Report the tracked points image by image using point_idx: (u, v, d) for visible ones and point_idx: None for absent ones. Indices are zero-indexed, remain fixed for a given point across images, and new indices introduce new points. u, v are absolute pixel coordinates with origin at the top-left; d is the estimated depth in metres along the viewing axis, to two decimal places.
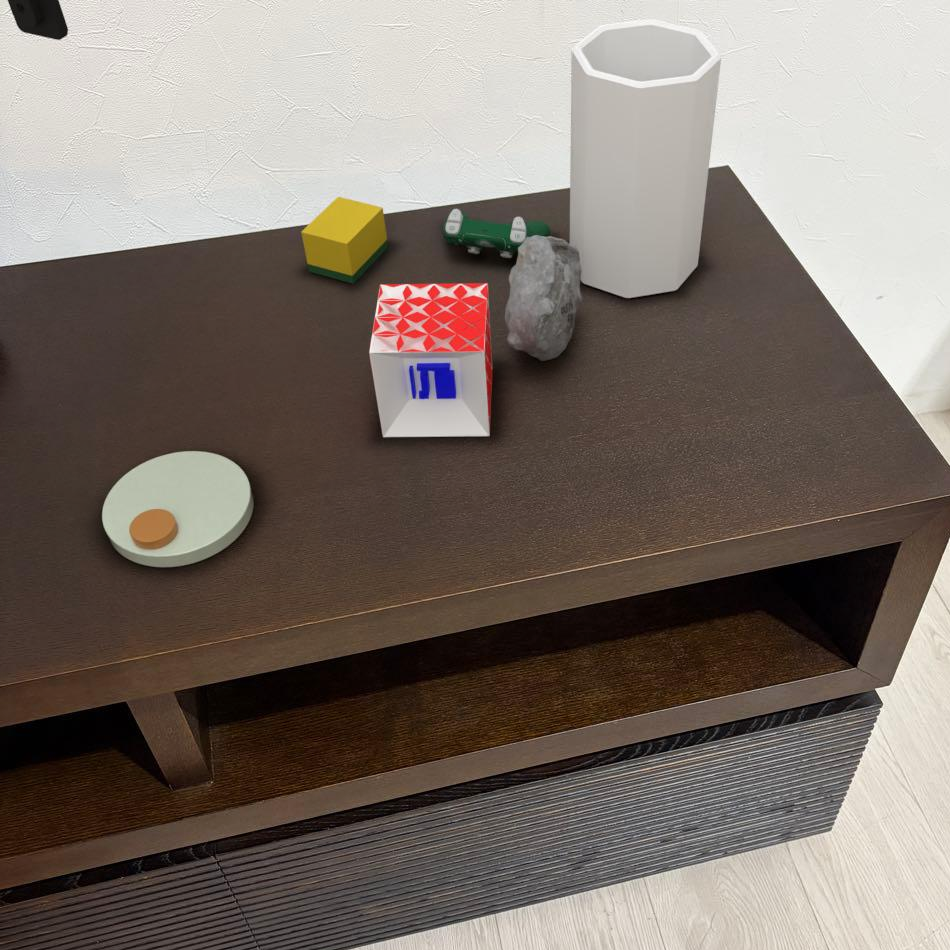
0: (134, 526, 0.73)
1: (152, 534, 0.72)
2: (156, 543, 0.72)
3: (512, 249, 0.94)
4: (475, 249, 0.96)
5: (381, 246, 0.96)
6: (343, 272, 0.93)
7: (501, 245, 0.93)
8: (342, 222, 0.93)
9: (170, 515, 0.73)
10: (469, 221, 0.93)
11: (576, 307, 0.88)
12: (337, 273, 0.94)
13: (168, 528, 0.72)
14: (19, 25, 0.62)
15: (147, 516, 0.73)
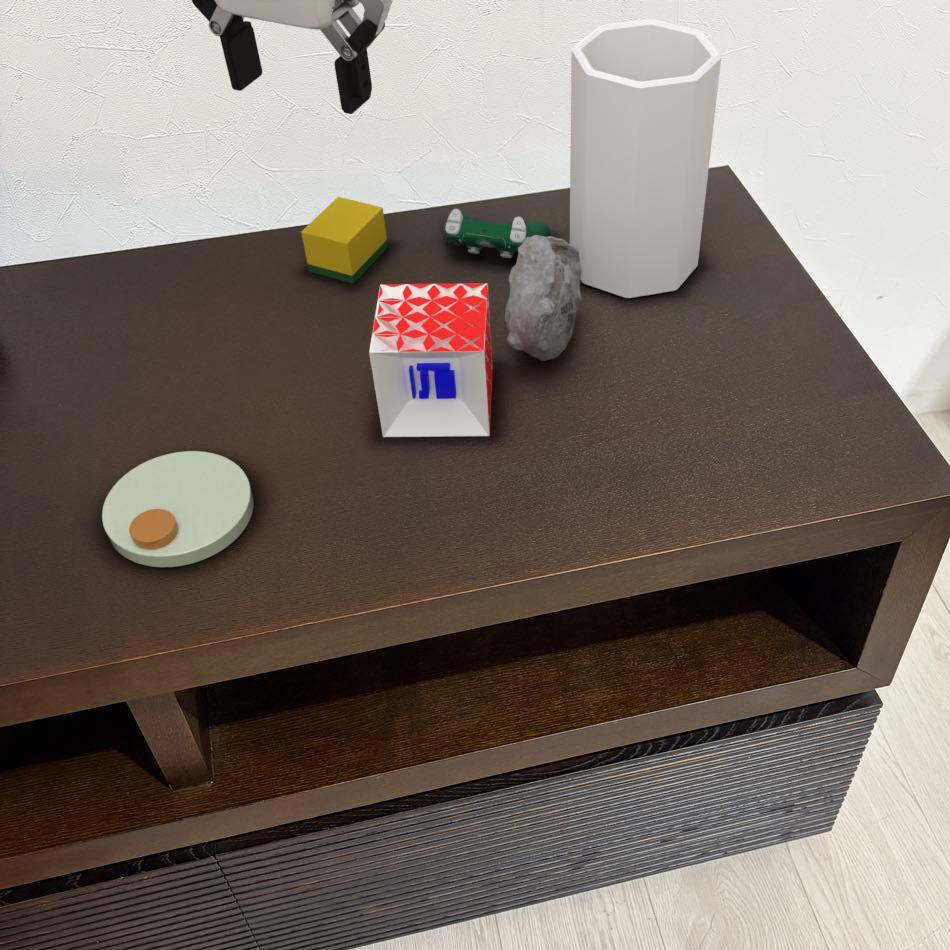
0: (134, 526, 0.73)
1: (152, 534, 0.72)
2: (156, 543, 0.72)
3: (512, 249, 0.94)
4: (475, 249, 0.96)
5: (381, 246, 0.96)
6: (343, 272, 0.93)
7: (501, 245, 0.93)
8: (342, 222, 0.93)
9: (170, 515, 0.73)
10: (469, 221, 0.93)
11: (576, 307, 0.88)
12: (337, 273, 0.94)
13: (168, 528, 0.72)
14: None
15: (147, 516, 0.73)
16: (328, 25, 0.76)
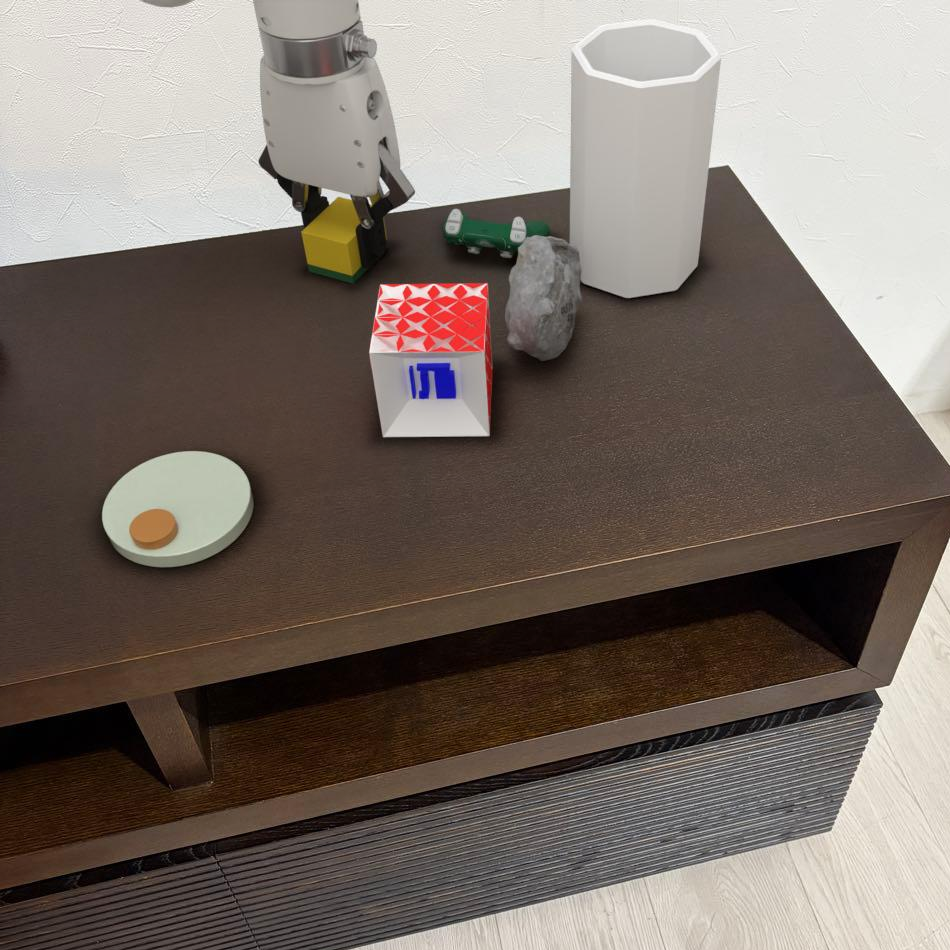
0: (134, 526, 0.73)
1: (152, 534, 0.72)
2: (156, 543, 0.72)
3: (512, 249, 0.94)
4: (475, 249, 0.96)
5: None
6: (343, 272, 0.93)
7: (501, 245, 0.93)
8: (342, 222, 0.93)
9: (170, 515, 0.73)
10: (469, 221, 0.93)
11: (576, 307, 0.88)
12: (337, 273, 0.94)
13: (168, 528, 0.72)
14: None
15: (147, 516, 0.73)
16: (373, 195, 0.88)
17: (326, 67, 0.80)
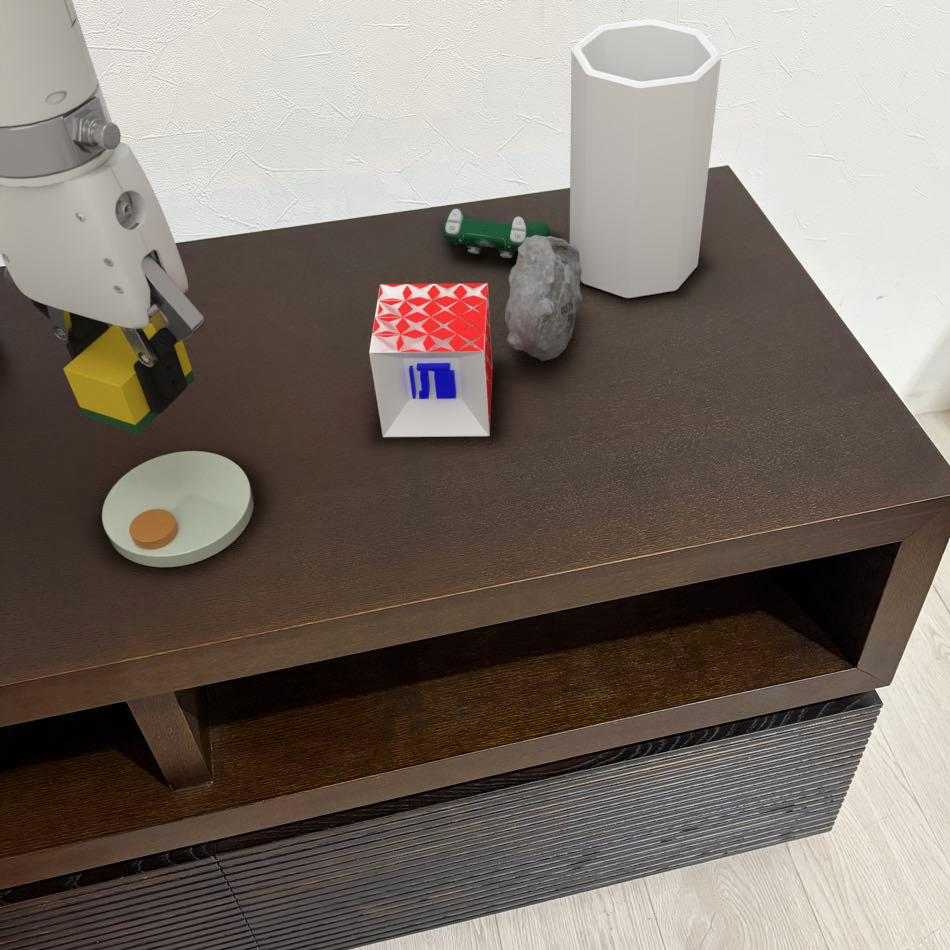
0: (134, 526, 0.73)
1: (152, 534, 0.72)
2: (156, 543, 0.72)
3: (512, 249, 0.94)
4: (475, 249, 0.96)
5: None
6: (124, 420, 0.70)
7: (501, 245, 0.93)
8: (121, 354, 0.69)
9: (170, 515, 0.73)
10: (469, 221, 0.93)
11: (576, 307, 0.88)
12: (117, 420, 0.70)
13: (168, 528, 0.72)
14: None
15: (147, 516, 0.73)
16: (145, 326, 0.64)
17: (45, 163, 0.56)
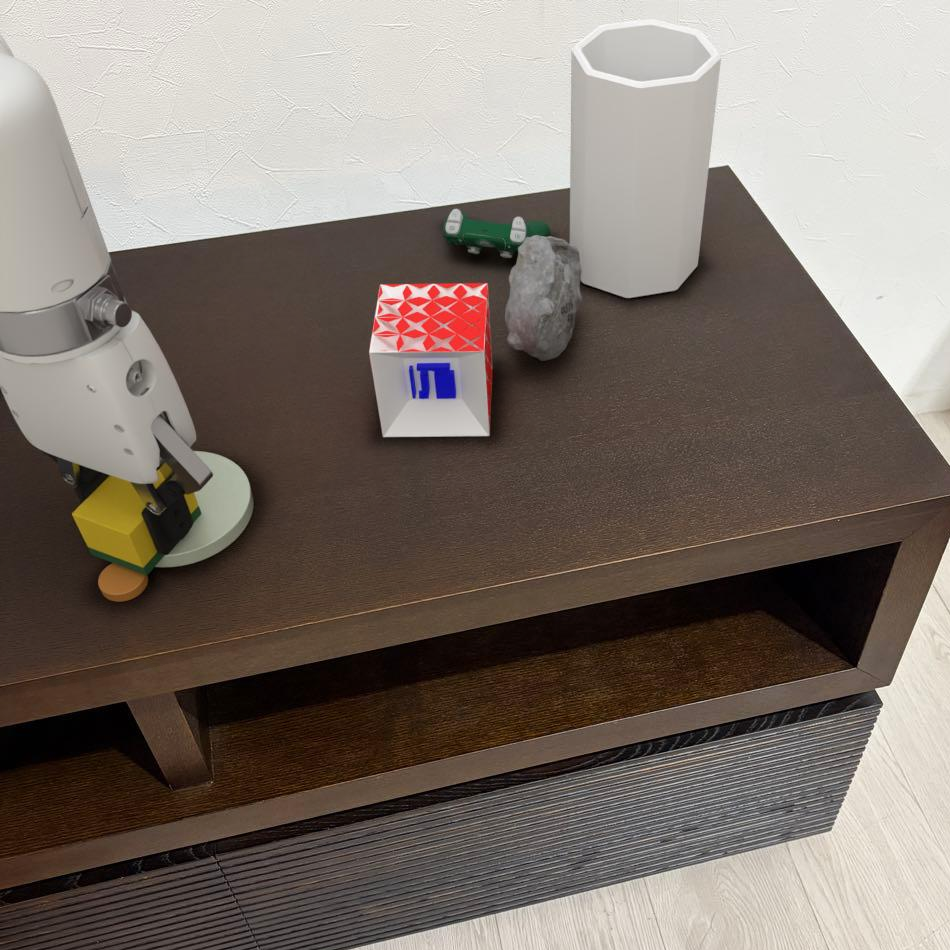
0: (103, 578, 0.71)
1: (122, 586, 0.71)
2: (125, 596, 0.71)
3: (512, 249, 0.94)
4: (475, 249, 0.96)
5: None
6: (131, 562, 0.70)
7: (501, 245, 0.93)
8: (129, 497, 0.70)
9: None
10: (469, 221, 0.93)
11: (576, 307, 0.88)
12: (125, 562, 0.71)
13: (138, 580, 0.71)
14: None
15: (117, 568, 0.72)
16: (154, 482, 0.65)
17: (57, 343, 0.57)
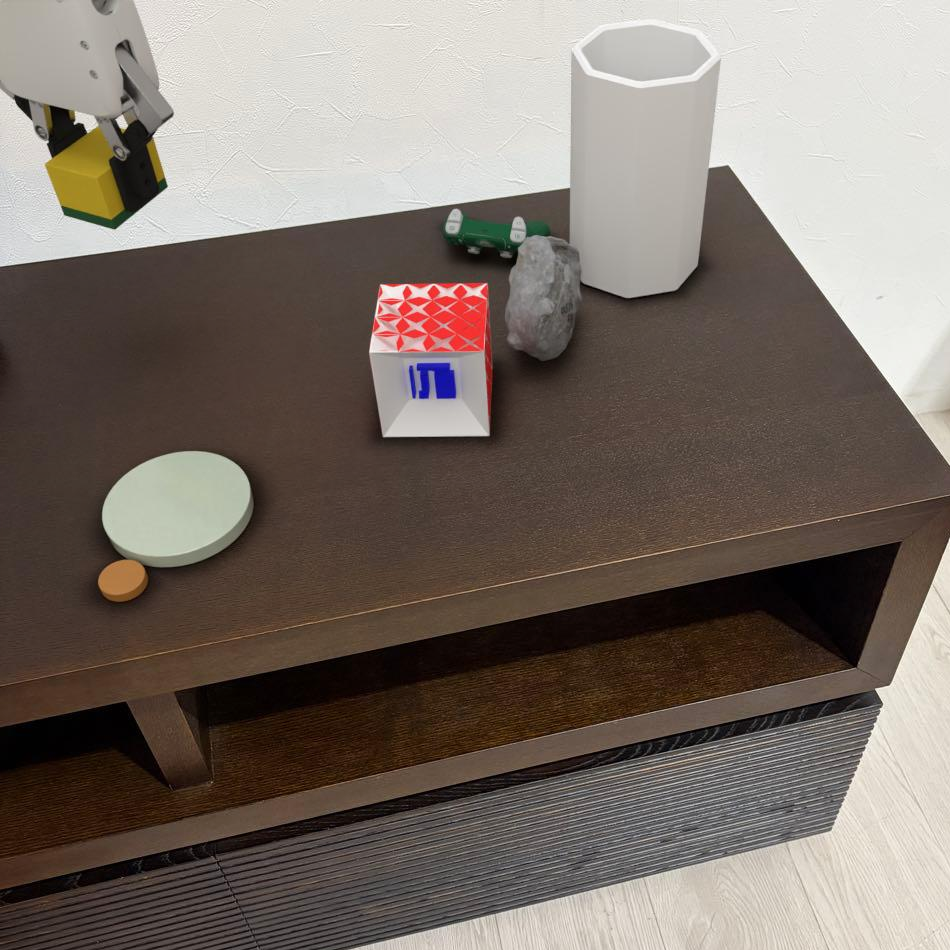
0: (103, 578, 0.71)
1: (122, 586, 0.71)
2: (125, 596, 0.71)
3: (512, 249, 0.94)
4: (475, 249, 0.96)
5: None
6: (100, 215, 0.76)
7: (501, 245, 0.93)
8: (98, 153, 0.75)
9: (140, 566, 0.72)
10: (469, 221, 0.93)
11: (576, 307, 0.88)
12: (94, 216, 0.76)
13: (138, 580, 0.71)
14: None
15: (117, 568, 0.72)
16: (118, 115, 0.70)
17: None
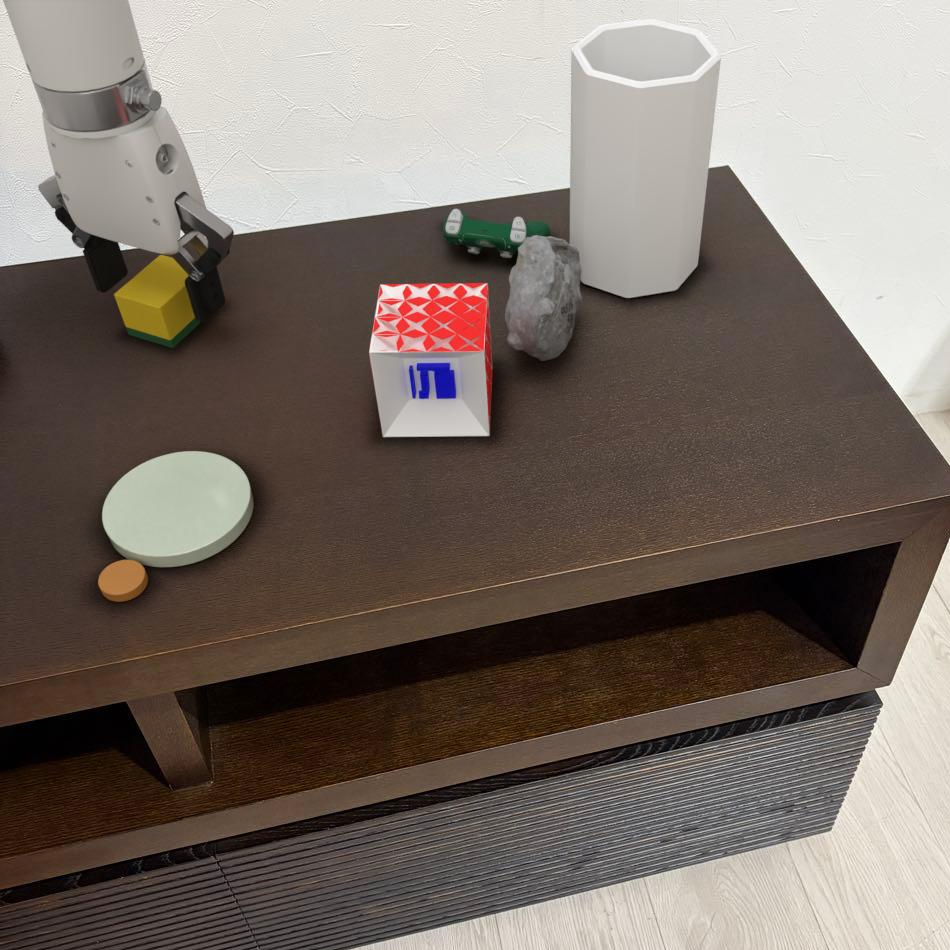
0: (103, 578, 0.71)
1: (122, 586, 0.71)
2: (125, 596, 0.71)
3: (512, 249, 0.94)
4: (475, 249, 0.96)
5: None
6: (161, 336, 0.88)
7: (501, 245, 0.93)
8: (159, 283, 0.87)
9: (140, 566, 0.72)
10: (469, 221, 0.93)
11: (576, 307, 0.88)
12: (155, 337, 0.88)
13: (138, 580, 0.71)
14: None
15: (117, 568, 0.72)
16: (175, 252, 0.82)
17: (104, 121, 0.74)
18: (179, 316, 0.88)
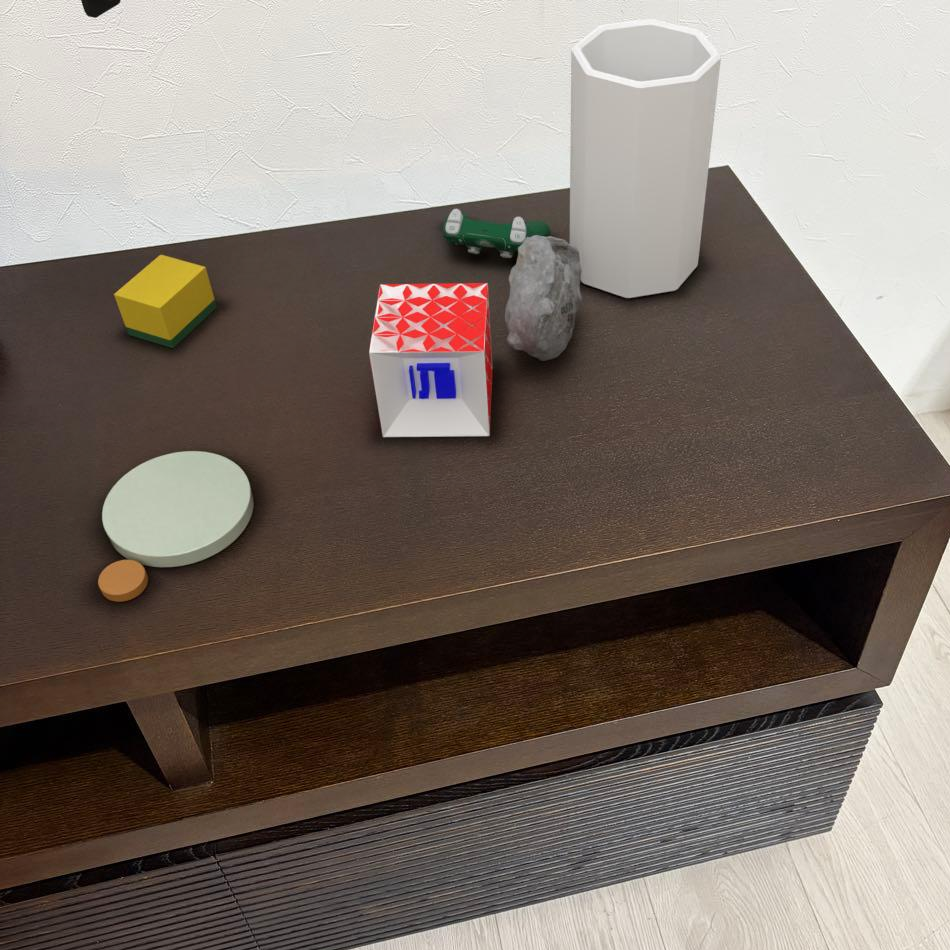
0: (103, 578, 0.71)
1: (122, 586, 0.71)
2: (125, 596, 0.71)
3: (512, 249, 0.94)
4: (475, 249, 0.96)
5: (207, 307, 0.91)
6: (161, 336, 0.88)
7: (501, 245, 0.93)
8: (159, 283, 0.87)
9: (140, 566, 0.72)
10: (469, 221, 0.93)
11: (576, 307, 0.88)
12: (155, 337, 0.88)
13: (138, 580, 0.71)
14: None
15: (117, 568, 0.72)
16: None
17: None
18: (179, 316, 0.88)
